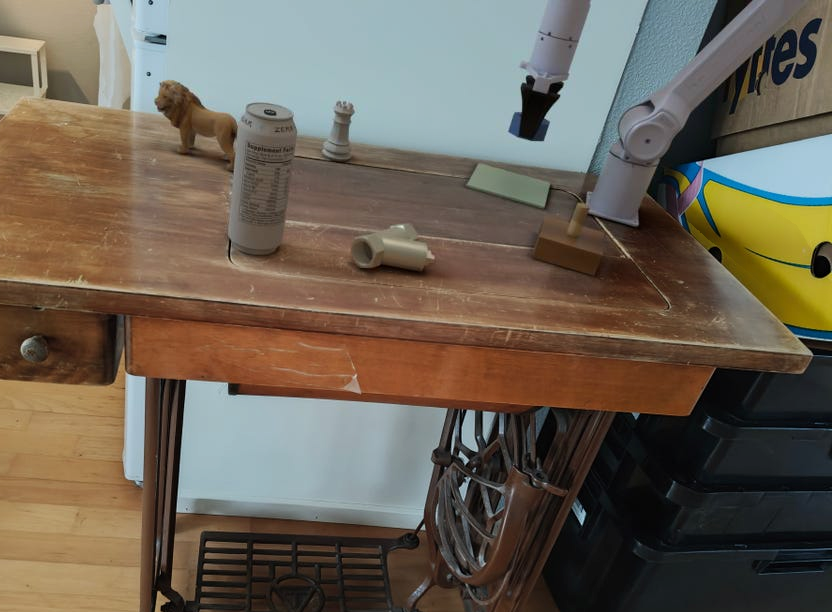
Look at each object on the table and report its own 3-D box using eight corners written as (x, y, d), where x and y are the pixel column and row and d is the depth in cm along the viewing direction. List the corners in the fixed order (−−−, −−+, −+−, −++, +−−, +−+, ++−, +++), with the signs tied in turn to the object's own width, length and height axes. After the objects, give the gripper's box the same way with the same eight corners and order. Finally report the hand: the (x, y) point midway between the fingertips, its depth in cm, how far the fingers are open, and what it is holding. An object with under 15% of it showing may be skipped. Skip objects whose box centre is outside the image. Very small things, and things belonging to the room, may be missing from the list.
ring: (510, 125, 111) (515, 109, 110) (545, 135, 110) (550, 118, 109) (506, 134, 107) (511, 117, 105) (542, 144, 106) (548, 127, 105)
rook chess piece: (347, 164, 108) (357, 110, 104) (318, 157, 108) (327, 103, 104) (352, 155, 112) (362, 103, 108) (324, 148, 112) (332, 96, 108)
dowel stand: (537, 235, 99) (554, 186, 95) (595, 252, 98) (615, 204, 94) (531, 257, 92) (550, 206, 88) (594, 276, 91) (615, 225, 87)
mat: (478, 165, 119) (478, 162, 119) (549, 185, 118) (550, 182, 117) (466, 187, 110) (466, 184, 109) (543, 209, 108) (544, 206, 108)
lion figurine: (146, 147, 99) (148, 80, 94) (166, 138, 104) (168, 73, 99) (245, 176, 97) (252, 109, 92) (261, 165, 102) (268, 100, 97)
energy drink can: (279, 235, 84) (296, 105, 76) (283, 259, 80) (302, 123, 71) (226, 230, 83) (238, 97, 75) (227, 254, 78) (240, 115, 70)
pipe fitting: (434, 273, 85) (391, 245, 87) (444, 244, 82) (400, 216, 85) (391, 290, 79) (347, 260, 82) (401, 260, 77) (355, 230, 80)
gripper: (535, 22, 107) (507, 114, 115) (525, 35, 95) (495, 137, 103) (582, 34, 106) (551, 126, 114) (578, 48, 94) (544, 150, 102)
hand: (527, 132), depth 108 cm, fingers closed on ring, 5 cm apart
